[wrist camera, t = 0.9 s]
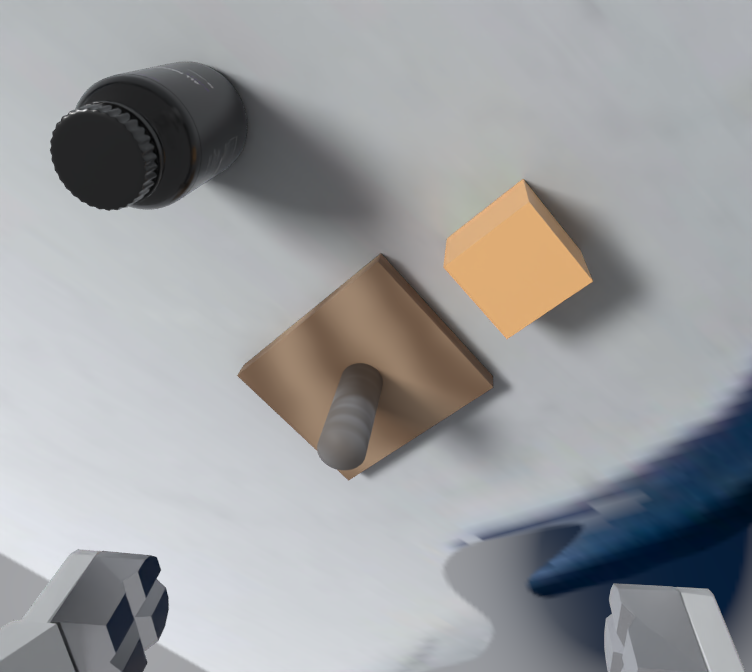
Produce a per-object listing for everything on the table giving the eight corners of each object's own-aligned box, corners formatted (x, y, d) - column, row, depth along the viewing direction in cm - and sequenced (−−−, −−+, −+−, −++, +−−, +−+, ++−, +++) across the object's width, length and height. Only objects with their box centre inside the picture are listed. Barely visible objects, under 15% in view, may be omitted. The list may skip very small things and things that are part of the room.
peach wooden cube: (523, 178, 40) (529, 201, 35) (580, 250, 41) (592, 281, 37) (446, 238, 42) (443, 267, 38) (503, 304, 44) (506, 339, 39)
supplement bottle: (219, 41, 38) (123, 59, 28) (267, 152, 41) (196, 207, 31) (124, 83, 40) (0, 115, 30) (176, 187, 43) (79, 249, 32)
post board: (380, 253, 43) (358, 315, 35) (492, 376, 46) (496, 460, 38) (243, 365, 49) (195, 441, 40) (351, 468, 52) (328, 558, 44)
